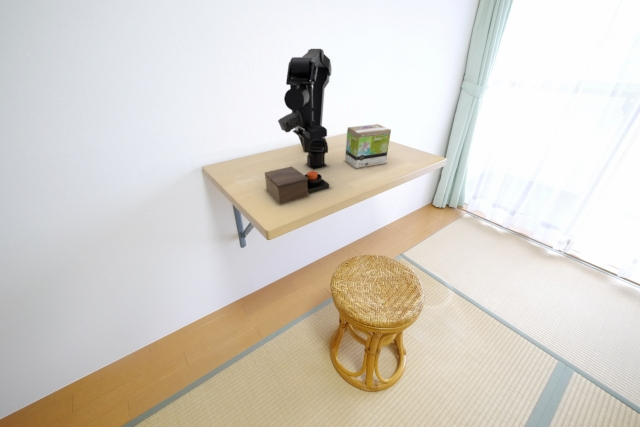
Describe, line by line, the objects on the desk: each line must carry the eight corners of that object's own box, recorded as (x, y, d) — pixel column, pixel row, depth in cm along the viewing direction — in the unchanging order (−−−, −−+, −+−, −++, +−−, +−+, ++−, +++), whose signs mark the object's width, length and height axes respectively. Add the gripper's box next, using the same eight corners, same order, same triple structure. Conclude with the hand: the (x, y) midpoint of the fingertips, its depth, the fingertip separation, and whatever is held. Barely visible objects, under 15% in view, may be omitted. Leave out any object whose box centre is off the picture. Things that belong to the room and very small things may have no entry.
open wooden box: (307, 196, 87) (307, 180, 84) (279, 204, 83) (278, 187, 80) (292, 183, 96) (291, 168, 93) (266, 190, 92) (264, 174, 88)
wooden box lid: (308, 179, 83) (308, 177, 83) (278, 187, 79) (278, 185, 79) (291, 167, 93) (291, 166, 92) (264, 174, 88) (264, 172, 88)
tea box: (356, 169, 106) (359, 133, 98) (344, 161, 114) (346, 126, 106) (386, 163, 111) (391, 128, 103) (373, 156, 119) (377, 122, 111)
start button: (305, 177, 93) (305, 172, 92) (314, 174, 95) (314, 170, 94) (310, 180, 91) (310, 176, 90) (319, 178, 92) (319, 173, 91)
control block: (296, 182, 96) (296, 174, 94) (315, 178, 100) (315, 169, 98) (309, 193, 89) (309, 184, 87) (329, 188, 92) (329, 179, 91)
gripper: (268, 101, 84) (273, 148, 93) (294, 112, 71) (297, 165, 80) (298, 98, 89) (301, 143, 98) (328, 107, 76) (327, 158, 84)
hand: (305, 151), depth 90 cm, fingers closed
